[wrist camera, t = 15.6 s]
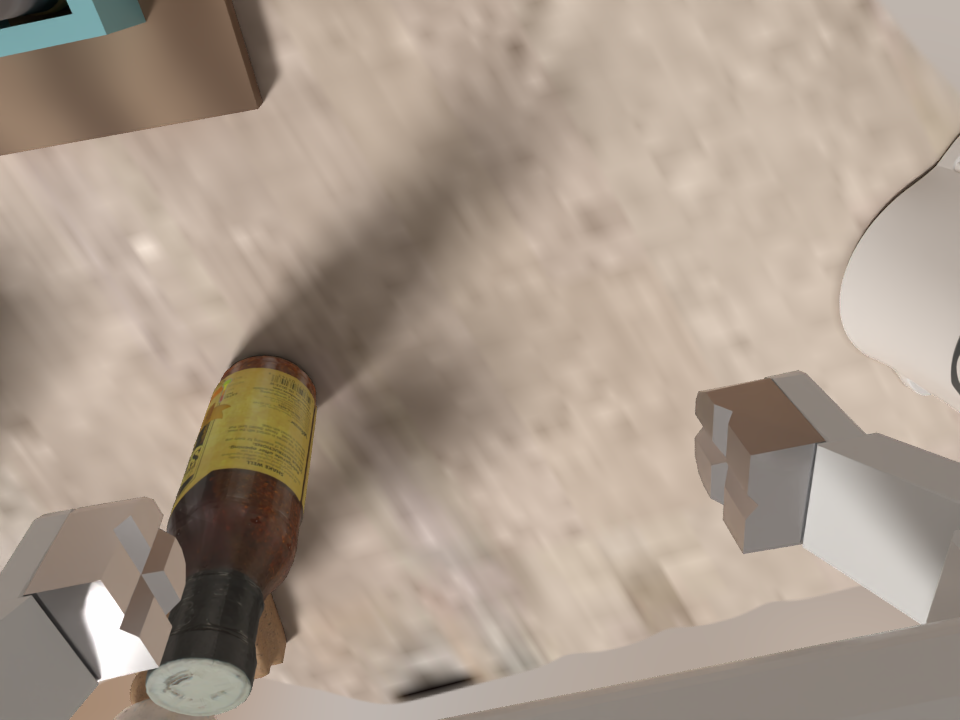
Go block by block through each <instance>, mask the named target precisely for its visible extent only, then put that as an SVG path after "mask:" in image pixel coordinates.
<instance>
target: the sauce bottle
mask: <svg viewBox="0 0 960 720" xmlns="http://www.w3.org/2000/svg"><path fill="white" fill-rule="evenodd" d="M315 403H316V391H315V387H314V385H313V383H312V381H311V379H310V378H309V377H308V376H307V374H306V373H305V372H303V371H302V370H301V369H300V368H299V367H298V366H297V365H295V364H293V363H292V362H290V361H288V360H285V359H282V358H279V357H272V356H266V355H263V356H254V357H250V358H246V359H244V360H241V361H239V362H237V363H236V364H235V365H233V366H232V367H231V368H230V369H228V370H227V371H226V372H225V373H224V375H223V377H222V378H221V381H220V383H219V384H218V385H217V387H216V389H215V390H214V392H213V395H212V397H211V400H210V403H209V406H208V409H207V411H206V414H205V417H204V420H203V423H202V426H201V429H200V432H199V434H198V437H197V440H196V442H195V444H194V448H193V452H192V455H191V457H190V459H189V462H188V466H187V468H186V471H185V474H184V477H183V480H182V483H181V486H180V489H179V491H178V494H177V496H176V500H175V503H174V505H173V508H172V511H171V515H170V518H169V521H168V525H167V533H169V534H171V535H172V536H174V537H176V539H177V541H178V543H179V545H180V547H181V549H182V552H183V555H184V559H185V563H186V584H185V587H184V591H183V594H182V597H181V600H180V601H179V602H178V604H177V605H176V606H175V607H174V608H173V609H172V610H171V611H170V613H169V617H168V620H169V622H170V623H171V625H172V629H171V632H170V635H169V638H168V641H167V644H166V647H165V650H164V653H163V656H162V660H161V663H160V666H159V668H154V669H150V670H148V672H147V675H146V683H145V685H146V693H147V694H148V696H149V697H150V699H151V700H152V701H153V702H154V703H155V704H157V705H159V706H161V707H163V708H165V709H167V710H169V711H173V712H176V713H180V714H185V715H191V716H211V715H216V714H221V713H224V712H227V711H229V710H232V709H234V708H236V707H237V706H239V705H240V704H241V703H243V702H245V701H246V699H247V697H248V696H249V694H250V692H251V690H252V686H253V681H254V676H255V671H256V667H257V658H256V647H255V642H256V637H257V632H258V625H259V619H260V617H261V615H262V612H263V611H264V606H265V604H264V601H265V600H266V598H267V596H268V595H269V594H270V593H271V592H273V591H274V590H275V588H276V587H278V586H279V585H280V584H281V583H282V582H283V580H284V579H285V578H286V577H287V574H288V572H289V570H290V568H291V566H292V564H293V562H294V557H295V553H296V549H297V541H298V533H299V527H300V524H301V522H302V519H303V513H304V505H305V498H306V491H307V483H308V475H309V468H310V460H311V452H312V444H313V436H314V429H315V421H316V414H317V406H316V405H315Z"/></svg>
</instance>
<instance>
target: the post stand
mask: <svg viewBox="0 0 960 720" xmlns="http://www.w3.org/2000/svg"><path fill="white" fill-rule="evenodd" d="M138 3H139V5H140V8H141V10H142V13H143V15H144V18H145V20H146V22H145V23H142V24H139V25H135V26H132V27H129V28H126V29H123V30H120V31H117V32H114V33H111V34H108V35H103V36H98V37H94V38H89V39H84V40H79V41H75V42H70V43H65V44H60V45H56V46H51V47H46V48H41V49H37V50H32V51H27V52H22V53H18V54H13V55H8V56H3V57H0V156H1V155H6V154H12V153H17V152H23V151H28V150H34V149H39V148H45V147H50V146H56V145H61V144H67V143H72V142H78V141H83V140H89V139H94V138H100V137H106V136H111V135H117V134H122V133H128V132H133V131H139V130H144V129H150V128H155V127H161V126H166V125H172V124H177V123H183V122H188V121H194V120H199V119H205V118H210V117H216V116H222V115H227V114H233V113H238V112H244V111H249V110H255V109H258V108H259V107H260V106H261V105H262V103H263V101H262V98H261V95H260V91H259V88H258V85H257V82H256V78H255V75H254V72H253V68H252V65H251V62H250V59H249V55H248V52H247V49H246V46H245V42H244V39H243V36H242V33H241V29H240V26H239V23H238V19H237V16H236V13H235V10H234V6H233V3H232V0H138ZM67 14H72V12H71V9H70V7H69V5H68V3H67V0H0V20H5V19H8V21H9V23H10V25H11V26H15V25H20V24H25V23H29V22H34V21H39V20H44V19H48V18H53V17H58V16H63V15H67Z"/></svg>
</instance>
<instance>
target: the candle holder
mask: <svg viewBox="0 0 960 720" xmlns="http://www.w3.org/2000/svg"><path fill="white" fill-rule="evenodd" d="M264 604H265V606H264V611H263V612H262V615H261V617H260V619H259V625H258V632H257V637H256V642H255V647H256V658H257V667H256V671H255V676H254V679H257V678H261V677H264V676H266V675H267V674H269V672H270V667H271V665H276V664H280V663H283V659H284V653H285V647H286V637H285V633H284V629H283V626H282V623H281V620H280V618H279V615H278V612H277V609H276V606H275V603H274V600H273V597H272V594H271V593H270V594H269V595H268V596H267V598H266V600H265V601H264ZM169 613H170V612H169ZM169 613H168V614H167V615H166V617H167V618H168V617H169ZM147 672H148V670H145V671H141V672H136V673H135V675H136V677H135V679H134V680H133V683H132V685H131V689H130V700H131V704H132V705H131V706H129V707H128V708H126V709H124V710H123V711H122V712H121V713H119V714H118V715H117V716H116V717H115V718H114V719H113V720H218V719H217V718H216V716H215V715H211V716H191V715H185V714H180V713H176V712H173V711H169V710H167V709H165V708H163V707H161V706H159V705H157V704H155V703H154V702H153V701H152V700H151V699H150V697H149V696H148V694H147V693H146V685H145V683H146V675H147Z"/></svg>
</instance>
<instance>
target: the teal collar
mask: <svg viewBox="0 0 960 720" xmlns="http://www.w3.org/2000/svg"><path fill="white" fill-rule="evenodd" d="M67 3H68V5H69V7H70V9H71V12H72V14H67V15H63V16H58V17H53V18H48V19H44V20H39V21H34V22H29V23H25V24H20V25H15V26H11V25H10V23H9V21H8V19H5V20H0V57H3V56H8V55H13V54H18V53H22V52H27V51H32V50H37V49H41V48H46V47H51V46H56V45H60V44H65V43H70V42H75V41H79V40H84V39H89V38H94V37H98V36H103V35H108V34H111V33H114V32H117V31H120V30H123V29H126V28H129V27H132V26H135V25H139V24H142V23H145V22H146V20H145V18H144V15H143V13H142V10H141V8H140V5H139V3H138V0H67Z"/></svg>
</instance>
